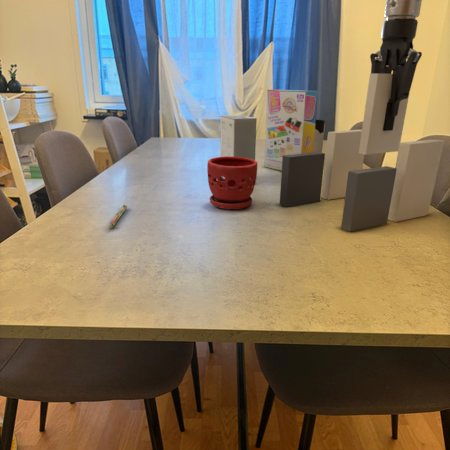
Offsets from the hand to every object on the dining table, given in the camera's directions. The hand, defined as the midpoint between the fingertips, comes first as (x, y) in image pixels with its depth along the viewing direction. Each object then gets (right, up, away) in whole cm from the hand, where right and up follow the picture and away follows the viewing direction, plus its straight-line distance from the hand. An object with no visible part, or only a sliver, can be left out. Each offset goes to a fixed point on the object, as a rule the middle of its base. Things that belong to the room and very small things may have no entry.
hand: (382, 129), depth 109 cm
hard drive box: (-36, -2, +38) cm, 52 cm away
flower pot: (-38, -17, +9) cm, 43 cm away
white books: (0, -17, +9) cm, 20 cm away
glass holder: (-1, +19, +79) cm, 82 cm away
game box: (-17, +5, +53) cm, 56 cm away
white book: (0, -5, +3) cm, 6 cm away
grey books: (-13, -21, +2) cm, 25 cm away
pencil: (-66, -23, -3) cm, 70 cm away
